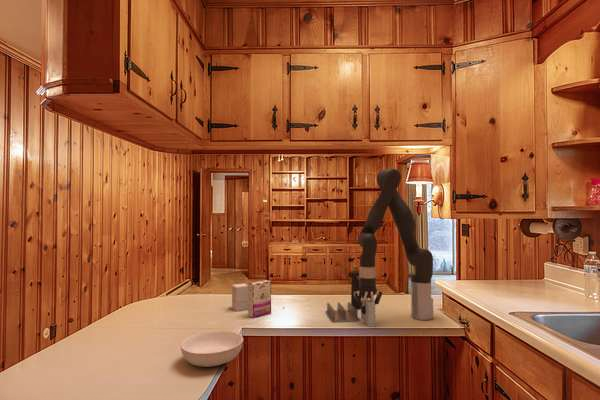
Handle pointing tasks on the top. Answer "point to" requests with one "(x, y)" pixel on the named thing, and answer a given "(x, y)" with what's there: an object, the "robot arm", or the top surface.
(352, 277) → the container
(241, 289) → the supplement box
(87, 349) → the top surface
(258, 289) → the candy bar box
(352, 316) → the dish rack
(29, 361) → the top surface
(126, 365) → the top surface
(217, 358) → the serving bowl
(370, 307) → the dish slab
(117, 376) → the top surface
